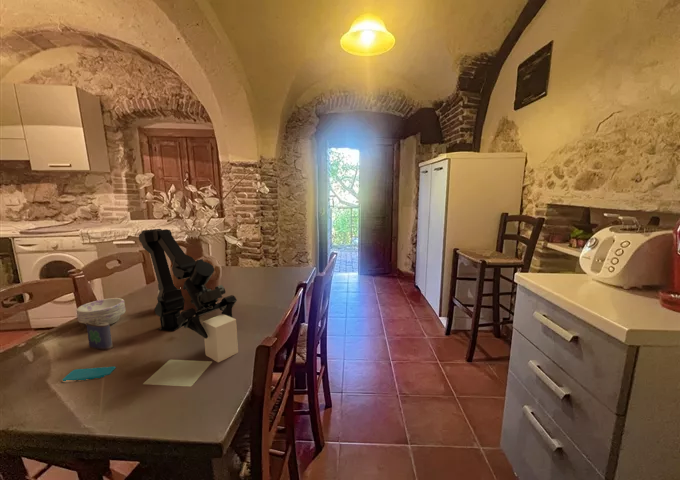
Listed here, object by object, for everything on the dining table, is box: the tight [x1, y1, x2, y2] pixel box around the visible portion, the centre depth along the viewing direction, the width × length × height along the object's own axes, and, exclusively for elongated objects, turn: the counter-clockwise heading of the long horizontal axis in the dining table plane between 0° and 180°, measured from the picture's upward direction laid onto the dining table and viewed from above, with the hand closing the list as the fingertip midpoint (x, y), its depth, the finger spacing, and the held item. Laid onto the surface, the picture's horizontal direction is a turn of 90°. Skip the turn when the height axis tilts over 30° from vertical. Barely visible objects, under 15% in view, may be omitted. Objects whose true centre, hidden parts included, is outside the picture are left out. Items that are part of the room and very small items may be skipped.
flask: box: [85, 318, 114, 351], centre depth 102 cm, size 9×3×11 cm, turn 74°
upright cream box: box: [202, 313, 239, 363], centre depth 98 cm, size 7×7×12 cm
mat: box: [142, 359, 214, 388], centre depth 89 cm, size 14×12×1 cm
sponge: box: [61, 365, 116, 381], centre depth 88 cm, size 2×12×6 cm
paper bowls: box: [75, 297, 126, 325], centre depth 122 cm, size 15×15×8 cm
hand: (220, 332), depth 97 cm, fingers open, 9 cm apart
